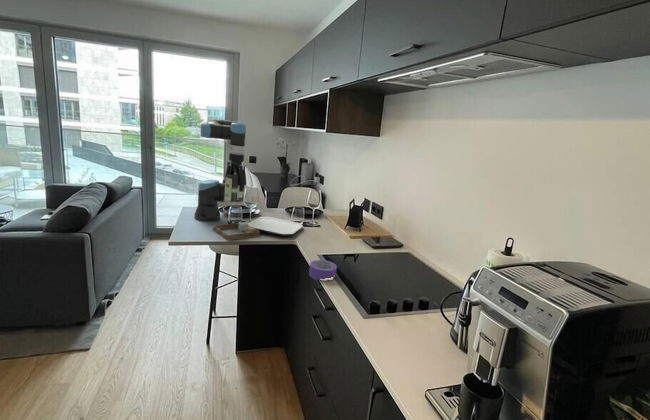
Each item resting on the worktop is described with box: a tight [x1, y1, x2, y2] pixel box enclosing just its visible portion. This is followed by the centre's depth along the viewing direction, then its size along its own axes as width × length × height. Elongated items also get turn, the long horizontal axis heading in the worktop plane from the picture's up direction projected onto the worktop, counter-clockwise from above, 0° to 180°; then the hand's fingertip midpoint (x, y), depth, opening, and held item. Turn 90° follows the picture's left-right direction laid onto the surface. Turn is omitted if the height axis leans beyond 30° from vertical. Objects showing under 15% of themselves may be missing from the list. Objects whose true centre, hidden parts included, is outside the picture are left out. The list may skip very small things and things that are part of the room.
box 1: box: [237, 221, 248, 232], centre depth 194 cm, size 4×4×4 cm
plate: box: [246, 216, 304, 237], centre depth 203 cm, size 29×29×2 cm
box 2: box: [244, 226, 255, 233], centre depth 189 cm, size 4×4×4 cm
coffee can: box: [224, 174, 246, 204], centre depth 181 cm, size 10×10×14 cm
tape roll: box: [308, 259, 338, 281], centre depth 148 cm, size 12×12×5 cm
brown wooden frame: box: [212, 222, 261, 241], centre depth 188 cm, size 18×19×2 cm
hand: (234, 195), depth 182 cm, fingers closed on coffee can, 10 cm apart
